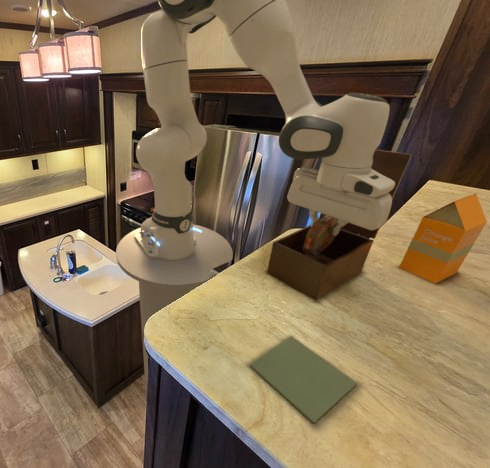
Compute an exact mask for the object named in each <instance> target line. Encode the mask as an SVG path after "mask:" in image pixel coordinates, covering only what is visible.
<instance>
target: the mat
mask: <svg viewBox="0 0 490 468" xmlns="http://www.w3.org/2000/svg"><path fill="white" fill-rule="evenodd" d="M249 367H250V368H251V369H252V370H253V371H254V372H255V373H256V374H258V375H259V377H261V378H262V379H264V381H266V382H267V383H268V385H270V386H271V387H272V388H273V389H274V390H276V392H277V393H279V394H280V395H281V396H282V397H283V398H284V399H285V400H286V401H288V402H289V403H290V404H291V405H292V406H293V407H294V408H295V409H296V410H298V411H299V412H300V413H301V414H302V415H303V416H304V417H305V418H306V419H308V421H310V423H312V424H313V425H314V424H316V423H317V422H318V421H319V420H320V419H321V418H322V417H323V416H325V415H326V414H327V413H328V412H329V411H330V410H331V409H332V408H333V407H334V406H335V405H336V404H338V402H340V401H341V400H342V399H343V398H344V397H345V396H346V395H348V393H349V392H351V391H352V390H353V389H354V388H355V387H356V386H357V385H358V383H357V381H355V380H354V379H352V378H350V377H349V376H348V375H347V374H345V373H344V372H342V371H341V370H339V369H338V368H337V367H335V366H334V365H333V364H331V363H329V362H328V361H327V360H325V359H324V358H323V357H321V356H320V355H318V354H316V353H315V352H314V351H312V350H311V349H310V348H308V347H307V346H306V345H304V344H303V343H301V342H300V341H299V340H297V339H296V338H294V337H293V336H289V337H288V338H286V339H284V340H283V341H281V342H280V343H279V344H277V345H276V346H274V347H273V348H271V349H270V350H268V351H267V352H265V353H264V354H263V355H262V356H261V355H260V357H258V358H257V359H255V360H254V361H252V362H251V363H250V364H249Z"/></svg>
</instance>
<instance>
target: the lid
mask: <svg viewBox="0 0 490 468" xmlns="http://www.w3.org/2000/svg"><path fill="white" fill-rule="evenodd" d="M412 156H413V154H412V153H407V152H406V153H405V152H398V151H392V150H391V151H390V150H384V149H383V150H382V149H378V148H376V150H375V152H374V154H373V164H372V167H371V169H373V170H375V171H376V172H378V173H380V174H382V175H384V176H385V177H387V178H389V179H391V180H393V181H394V182H395V186H394V188H393V189H392V190H391V191H390V192H388V193H389V194H390V195H391V197H392V200H394V197H395V195H396V193H397V191H398V188H399V186H400V183H401V182H402V179H403V176H404V175H405V172H406V170H407V167H408V166H409V163H410V161H411V158H412ZM323 216H325V214H322V213H319V216H318V218H319V219H321V218H322V217H323ZM341 229H343V230H346V231H349V232H351V233H354V234H357V235H360V236H363V237H366V238H369V239H372V240H375V239H376V238H377V236H378V234H379V231H380V229H381V227H380V228H378V229H375V230H368V229H366V228H363V227H360V226H357V225H354V224H351V223H347V224H346V225H344V226H343V227H342V228H341Z"/></svg>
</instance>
